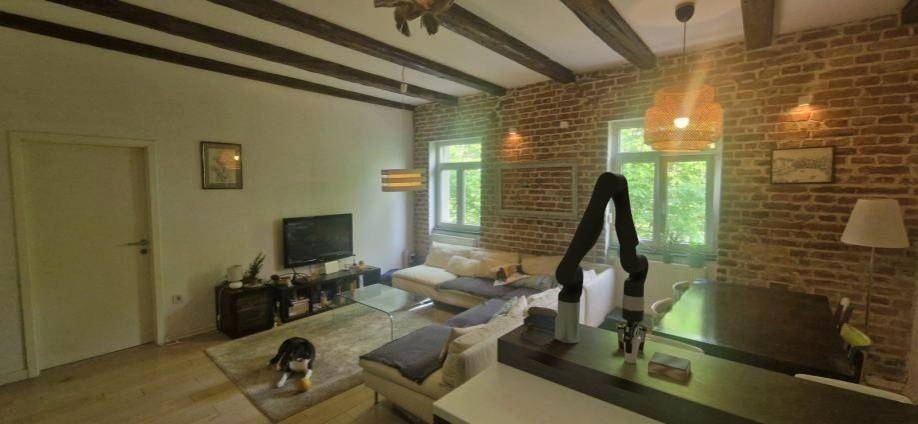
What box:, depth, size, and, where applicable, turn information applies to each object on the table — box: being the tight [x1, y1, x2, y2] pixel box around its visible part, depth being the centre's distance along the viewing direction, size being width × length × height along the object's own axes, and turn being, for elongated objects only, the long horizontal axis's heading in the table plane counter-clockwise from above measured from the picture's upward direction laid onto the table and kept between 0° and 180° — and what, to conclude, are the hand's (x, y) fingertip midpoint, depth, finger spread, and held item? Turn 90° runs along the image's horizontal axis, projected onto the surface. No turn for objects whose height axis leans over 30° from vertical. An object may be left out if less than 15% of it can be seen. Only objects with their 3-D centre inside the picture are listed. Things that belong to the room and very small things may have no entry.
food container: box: [615, 321, 649, 352], centre depth 160 cm, size 12×6×10 cm, turn 84°
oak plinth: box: [647, 351, 692, 383], centre depth 139 cm, size 12×11×4 cm
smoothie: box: [622, 334, 641, 364], centre depth 147 cm, size 6×6×14 cm
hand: (631, 349), depth 147 cm, fingers open, 8 cm apart
